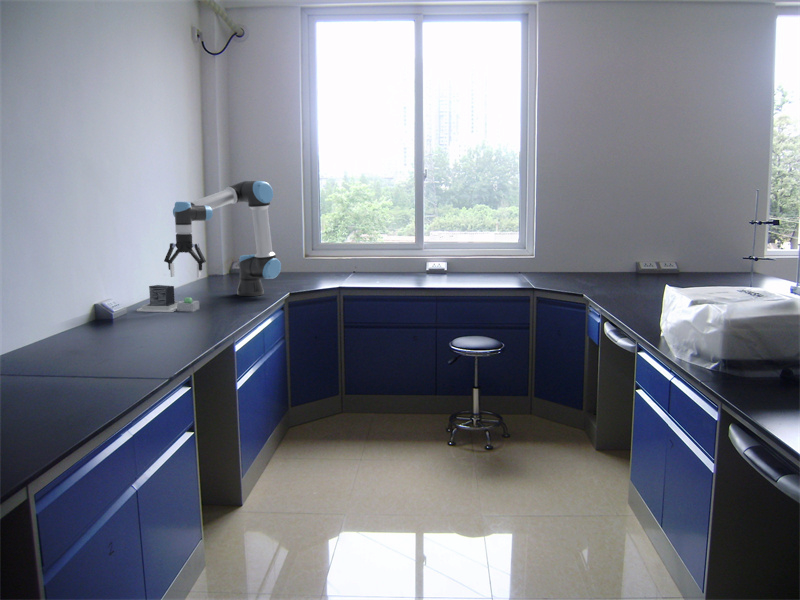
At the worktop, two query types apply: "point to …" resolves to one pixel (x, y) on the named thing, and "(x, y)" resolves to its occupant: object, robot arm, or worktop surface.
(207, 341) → the worktop surface
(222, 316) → the worktop surface
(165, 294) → the small box
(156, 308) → the plate
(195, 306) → the console
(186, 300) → the button
